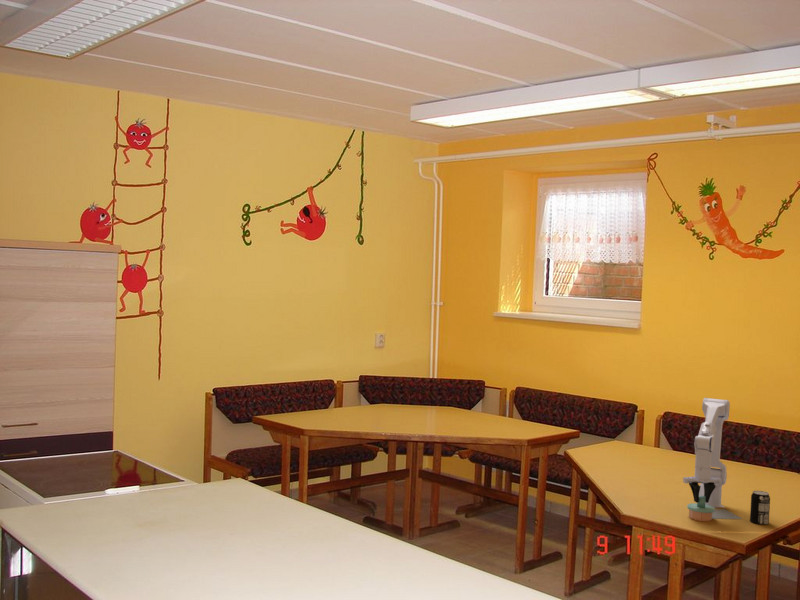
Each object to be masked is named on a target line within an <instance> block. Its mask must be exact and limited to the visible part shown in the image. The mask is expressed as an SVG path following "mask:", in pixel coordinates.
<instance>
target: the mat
mask: <svg viewBox="0 0 800 600" xmlns="http://www.w3.org/2000/svg"><path fill="white" fill-rule="evenodd" d="M712 520H743V518H742V517H740V516H738V515H737V514H734V512H731V511H730V510H728V509H725V508H724V509H723V508H715V512H712Z"/></svg>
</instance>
